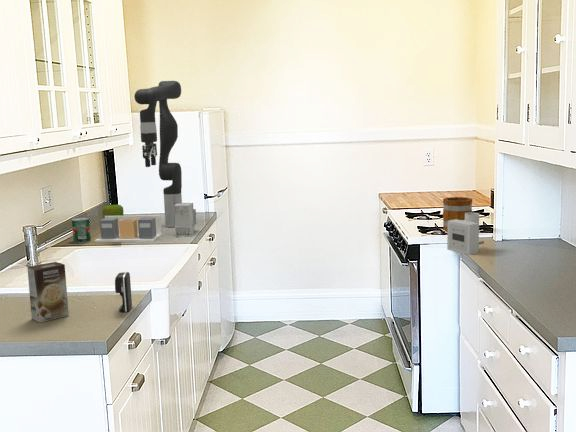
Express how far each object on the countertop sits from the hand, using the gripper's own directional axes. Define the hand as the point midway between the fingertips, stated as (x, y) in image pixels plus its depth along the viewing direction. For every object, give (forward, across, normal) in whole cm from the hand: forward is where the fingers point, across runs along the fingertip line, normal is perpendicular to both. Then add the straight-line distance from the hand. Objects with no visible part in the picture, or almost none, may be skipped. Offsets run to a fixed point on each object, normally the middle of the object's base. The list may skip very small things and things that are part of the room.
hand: (150, 166), depth 306 cm
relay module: (+32, +9, -10) cm, 35 cm away
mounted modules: (+33, +9, -10) cm, 35 cm away
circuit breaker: (+34, -6, +14) cm, 38 cm away
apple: (+34, -36, -35) cm, 61 cm away
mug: (+34, -10, +145) cm, 149 cm away
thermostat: (+34, +34, +144) cm, 152 cm away
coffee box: (+34, +121, +6) cm, 126 cm away
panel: (+34, +7, -11) cm, 37 cm away
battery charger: (+34, +113, +26) cm, 121 cm away
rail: (+34, +9, -11) cm, 37 cm away
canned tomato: (+34, +12, -32) cm, 48 cm away
